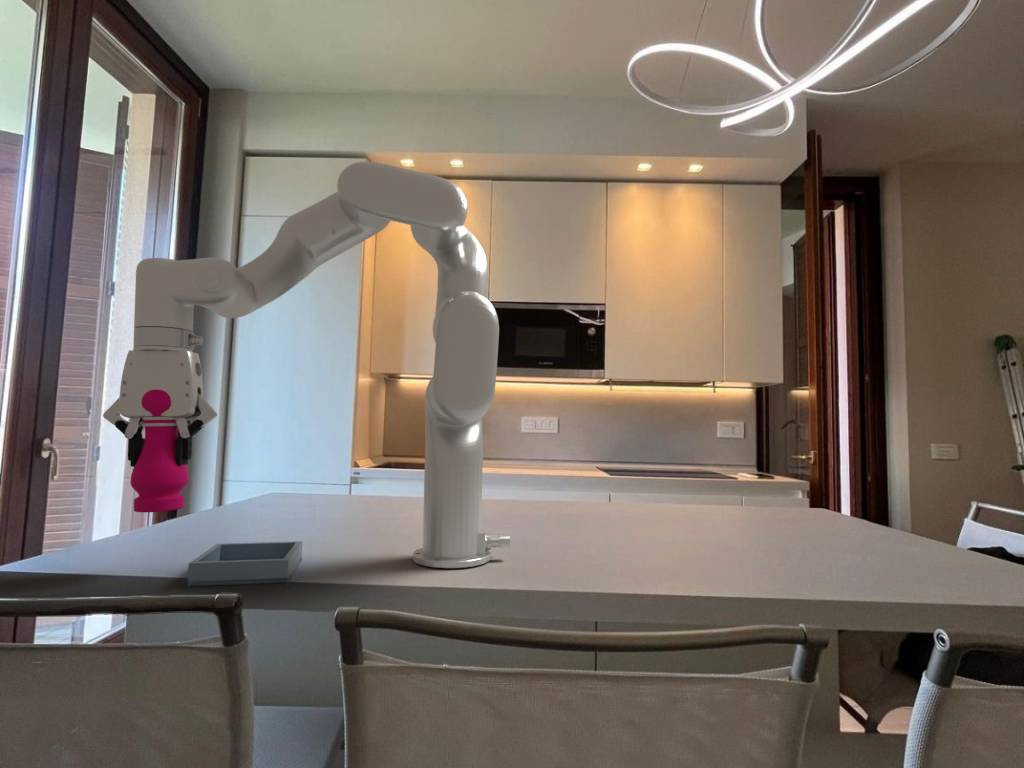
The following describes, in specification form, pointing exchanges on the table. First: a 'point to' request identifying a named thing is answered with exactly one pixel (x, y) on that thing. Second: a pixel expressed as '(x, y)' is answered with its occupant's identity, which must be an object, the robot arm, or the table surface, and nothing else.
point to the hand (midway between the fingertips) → (159, 464)
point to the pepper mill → (158, 460)
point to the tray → (245, 563)
